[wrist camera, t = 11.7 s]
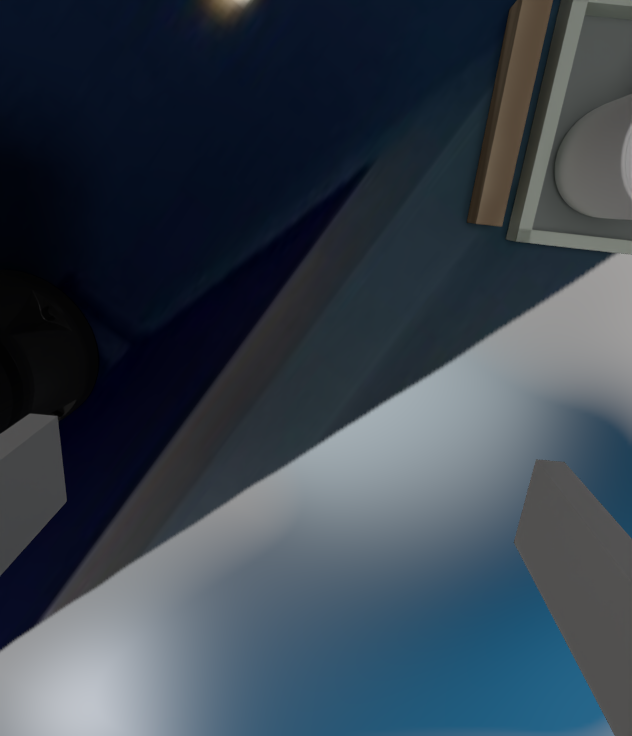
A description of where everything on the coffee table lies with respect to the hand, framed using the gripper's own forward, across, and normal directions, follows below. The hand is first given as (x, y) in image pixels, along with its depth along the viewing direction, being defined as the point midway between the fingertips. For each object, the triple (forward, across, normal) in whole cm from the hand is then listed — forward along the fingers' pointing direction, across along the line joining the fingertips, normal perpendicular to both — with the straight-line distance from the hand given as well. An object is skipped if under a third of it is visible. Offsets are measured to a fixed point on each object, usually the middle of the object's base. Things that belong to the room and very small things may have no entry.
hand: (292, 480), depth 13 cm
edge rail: (+31, +13, +14) cm, 36 cm away
